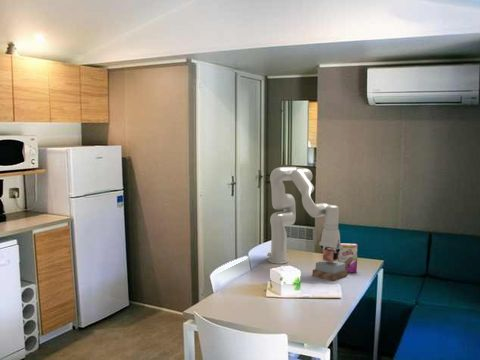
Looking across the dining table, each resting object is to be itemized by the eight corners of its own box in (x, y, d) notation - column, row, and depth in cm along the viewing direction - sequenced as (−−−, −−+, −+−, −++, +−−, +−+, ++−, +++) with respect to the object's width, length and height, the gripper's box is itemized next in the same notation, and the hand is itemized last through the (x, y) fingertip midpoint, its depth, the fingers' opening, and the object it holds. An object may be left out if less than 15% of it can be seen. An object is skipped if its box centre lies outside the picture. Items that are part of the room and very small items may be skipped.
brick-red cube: (322, 260, 266) (323, 249, 266) (328, 258, 271) (329, 248, 270) (331, 262, 262) (332, 251, 262) (337, 260, 267) (338, 249, 266)
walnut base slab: (312, 276, 267) (312, 269, 267) (326, 272, 277) (326, 265, 277) (333, 282, 257) (333, 275, 257) (347, 277, 267) (347, 270, 267)
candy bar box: (337, 272, 275) (338, 244, 273) (336, 269, 280) (337, 242, 278) (357, 273, 274) (358, 245, 272) (355, 270, 279) (356, 243, 277)
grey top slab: (315, 269, 267) (315, 262, 267) (327, 265, 276) (327, 259, 275) (333, 274, 259) (333, 267, 258) (345, 270, 267) (345, 263, 267)
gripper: (314, 225, 268) (313, 256, 270) (341, 230, 256) (339, 262, 258) (322, 224, 274) (321, 254, 275) (348, 228, 262) (347, 260, 263)
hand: (330, 258), depth 266 cm, fingers closed on brick-red cube, 5 cm apart
